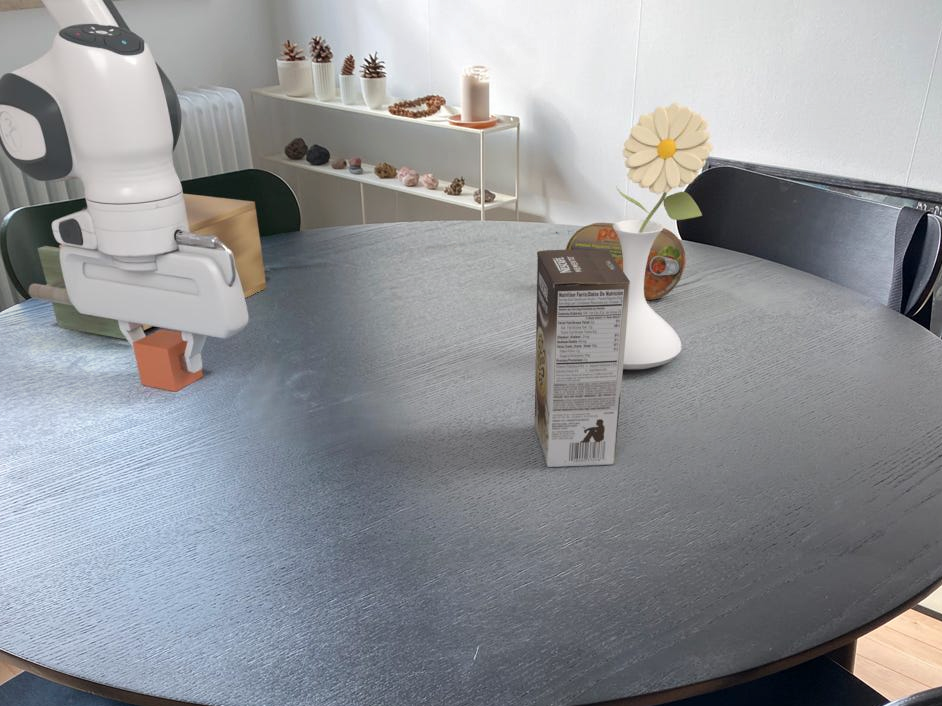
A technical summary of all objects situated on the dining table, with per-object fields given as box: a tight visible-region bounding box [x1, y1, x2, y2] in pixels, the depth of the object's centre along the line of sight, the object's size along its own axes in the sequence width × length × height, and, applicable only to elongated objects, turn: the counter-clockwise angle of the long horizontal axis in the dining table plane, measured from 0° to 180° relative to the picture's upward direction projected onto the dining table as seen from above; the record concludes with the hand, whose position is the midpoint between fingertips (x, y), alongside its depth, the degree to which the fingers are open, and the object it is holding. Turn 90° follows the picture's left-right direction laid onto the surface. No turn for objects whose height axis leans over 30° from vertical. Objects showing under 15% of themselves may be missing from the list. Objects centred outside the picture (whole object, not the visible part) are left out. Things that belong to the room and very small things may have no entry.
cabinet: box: [183, 193, 267, 299], centre depth 122 cm, size 15×13×11 cm
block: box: [132, 328, 204, 393], centre depth 102 cm, size 4×4×4 cm
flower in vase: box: [613, 102, 713, 370], centre depth 99 cm, size 13×11×25 cm
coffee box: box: [534, 248, 630, 468], centre depth 85 cm, size 9×6×16 cm
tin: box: [565, 222, 686, 301], centre depth 122 cm, size 15×3×8 cm, turn 68°
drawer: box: [28, 244, 153, 340], centre depth 113 cm, size 18×11×9 cm, turn 155°
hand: (169, 365), depth 102 cm, fingers closed on block, 4 cm apart
